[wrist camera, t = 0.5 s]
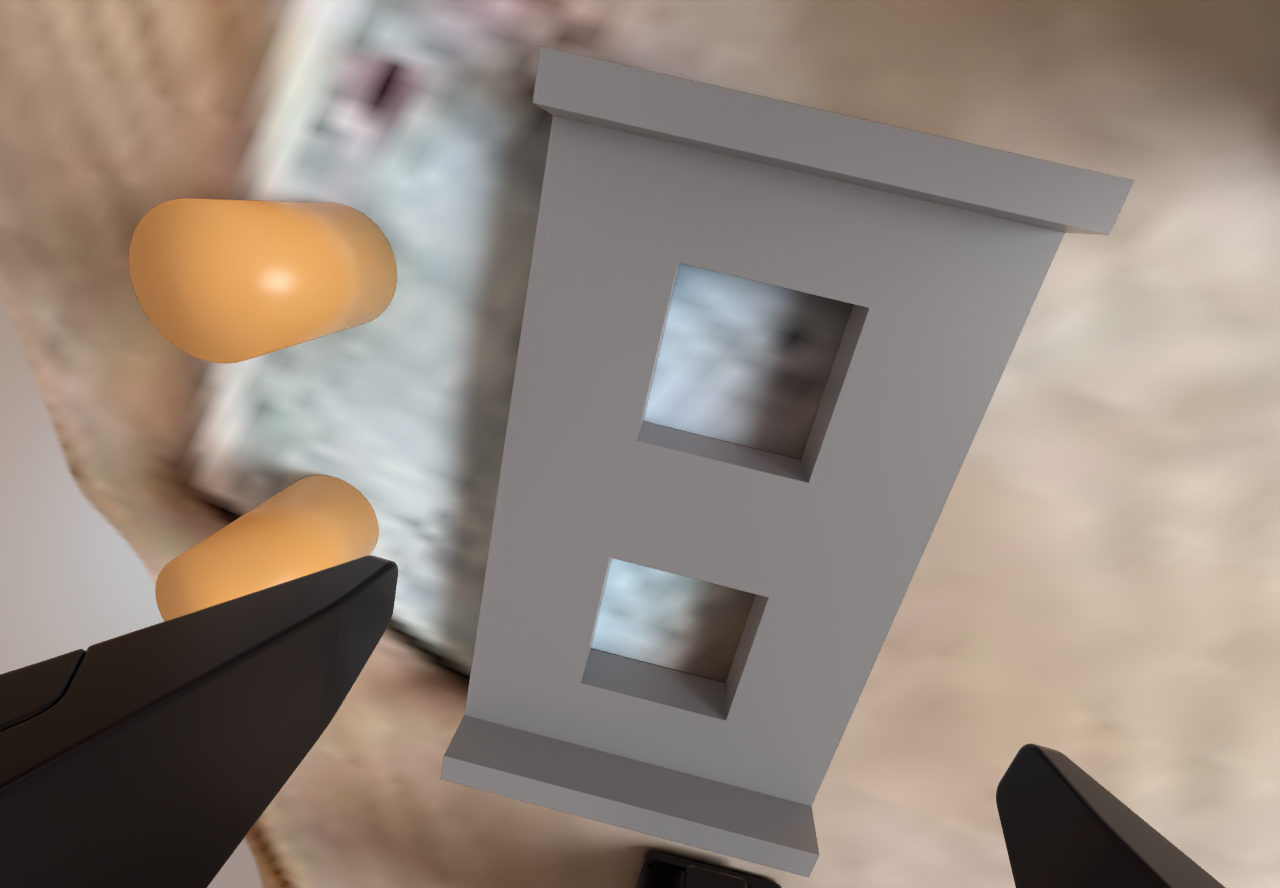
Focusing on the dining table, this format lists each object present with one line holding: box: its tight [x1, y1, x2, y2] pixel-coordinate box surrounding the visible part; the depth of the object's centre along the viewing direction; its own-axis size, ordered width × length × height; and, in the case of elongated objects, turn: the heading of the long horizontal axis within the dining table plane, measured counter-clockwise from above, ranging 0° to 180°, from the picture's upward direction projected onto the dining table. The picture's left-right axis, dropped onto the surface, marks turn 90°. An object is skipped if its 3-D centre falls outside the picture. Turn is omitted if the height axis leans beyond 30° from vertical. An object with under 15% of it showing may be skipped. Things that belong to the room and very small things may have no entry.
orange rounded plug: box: [129, 198, 397, 363], centre depth 18 cm, size 4×4×6 cm
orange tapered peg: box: [156, 475, 379, 621], centre depth 22 cm, size 4×4×6 cm
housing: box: [441, 46, 1134, 877], centre depth 21 cm, size 24×14×4 cm, turn 168°
